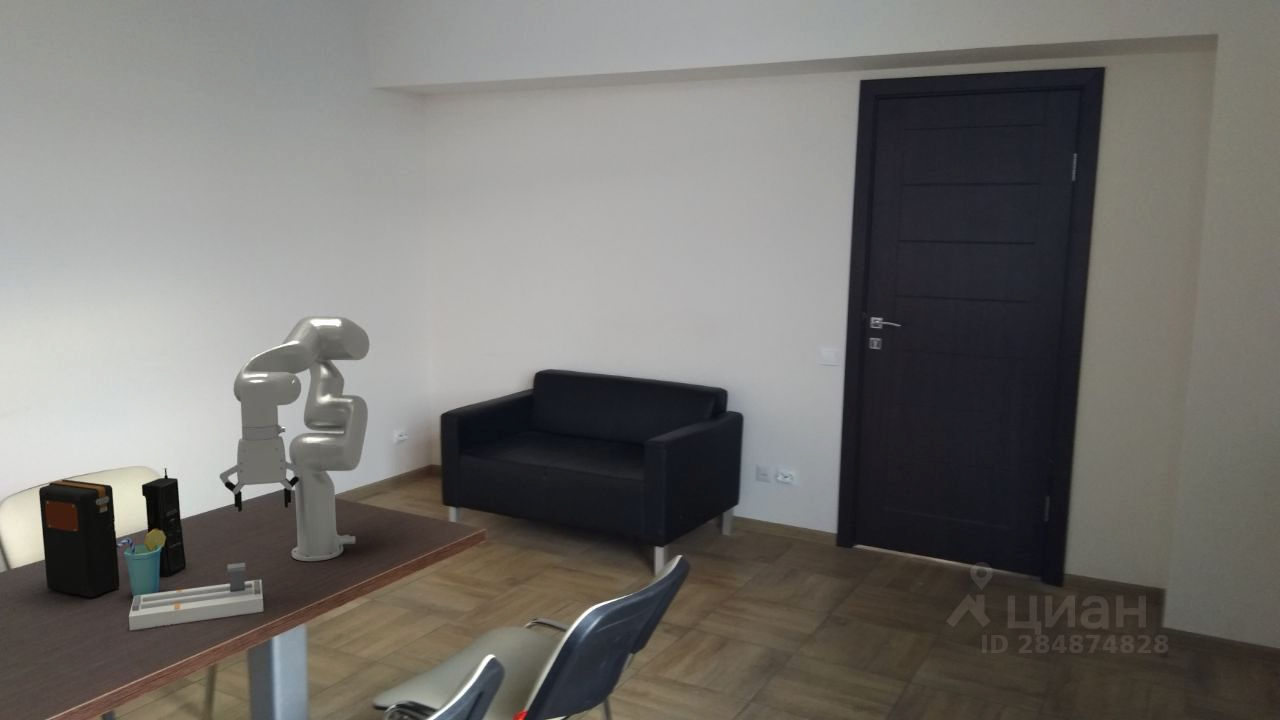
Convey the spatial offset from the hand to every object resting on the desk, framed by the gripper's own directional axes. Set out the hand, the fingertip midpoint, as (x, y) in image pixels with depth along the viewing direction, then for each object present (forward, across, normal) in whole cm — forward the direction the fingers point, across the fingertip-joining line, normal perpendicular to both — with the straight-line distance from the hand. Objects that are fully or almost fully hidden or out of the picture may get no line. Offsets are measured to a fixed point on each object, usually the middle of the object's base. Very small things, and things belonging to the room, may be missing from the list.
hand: (263, 508), depth 212 cm
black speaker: (+22, +40, -21) cm, 50 cm away
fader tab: (+18, +6, +1) cm, 19 cm away
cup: (+22, +26, -13) cm, 36 cm away
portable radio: (+21, +23, -27) cm, 41 cm away
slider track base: (+22, +14, +1) cm, 26 cm away
